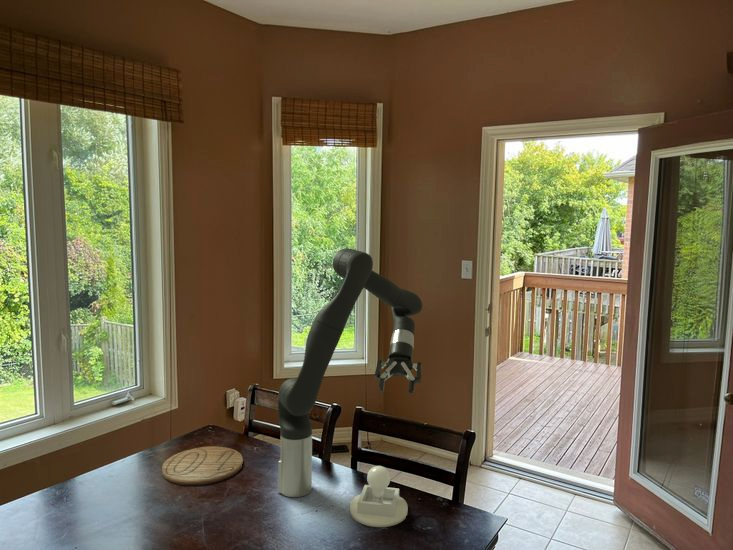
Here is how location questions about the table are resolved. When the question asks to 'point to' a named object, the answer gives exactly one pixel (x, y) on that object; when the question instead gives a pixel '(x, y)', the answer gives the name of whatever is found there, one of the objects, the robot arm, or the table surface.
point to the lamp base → (379, 508)
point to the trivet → (202, 465)
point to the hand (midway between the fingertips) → (396, 392)
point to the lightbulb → (378, 482)
